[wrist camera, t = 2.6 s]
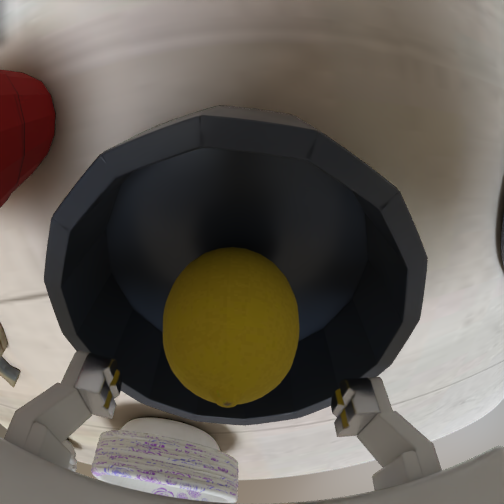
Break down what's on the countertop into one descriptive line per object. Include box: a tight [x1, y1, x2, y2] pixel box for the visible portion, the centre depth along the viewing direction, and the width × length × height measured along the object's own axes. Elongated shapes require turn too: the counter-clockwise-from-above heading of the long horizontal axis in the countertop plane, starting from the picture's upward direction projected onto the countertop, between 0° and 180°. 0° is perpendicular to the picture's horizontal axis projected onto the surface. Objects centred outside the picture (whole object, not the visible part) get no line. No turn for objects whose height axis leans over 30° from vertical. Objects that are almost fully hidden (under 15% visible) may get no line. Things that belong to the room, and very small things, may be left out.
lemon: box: [163, 247, 299, 408], centre depth 12 cm, size 6×6×8 cm
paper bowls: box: [91, 418, 238, 503], centre depth 24 cm, size 15×15×8 cm
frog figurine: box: [62, 439, 77, 472], centre depth 31 cm, size 6×7×7 cm
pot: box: [44, 105, 428, 425], centre depth 14 cm, size 16×16×5 cm
